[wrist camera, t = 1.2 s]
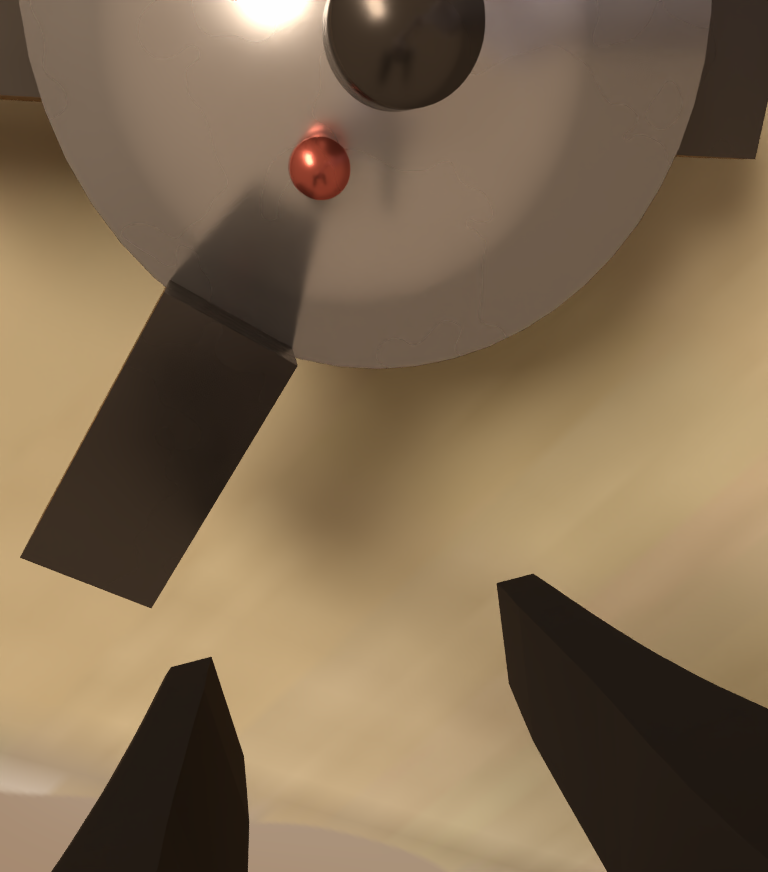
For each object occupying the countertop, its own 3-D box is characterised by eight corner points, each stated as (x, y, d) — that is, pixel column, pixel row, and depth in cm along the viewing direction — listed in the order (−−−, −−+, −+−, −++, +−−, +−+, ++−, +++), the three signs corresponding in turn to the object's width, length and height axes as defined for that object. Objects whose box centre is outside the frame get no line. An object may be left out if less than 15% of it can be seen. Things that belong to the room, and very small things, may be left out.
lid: (255, -653, 10) (261, -840, 8) (804, -54, 14) (892, -85, 12) (-201, 404, 13) (-271, 445, 11) (339, 628, 17) (352, 685, 15)
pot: (710, -173, 17) (859, -273, 13) (629, 302, 21) (724, 340, 17) (-253, -322, 13) (-468, -529, 9) (-126, 293, 17) (-237, 339, 13)
